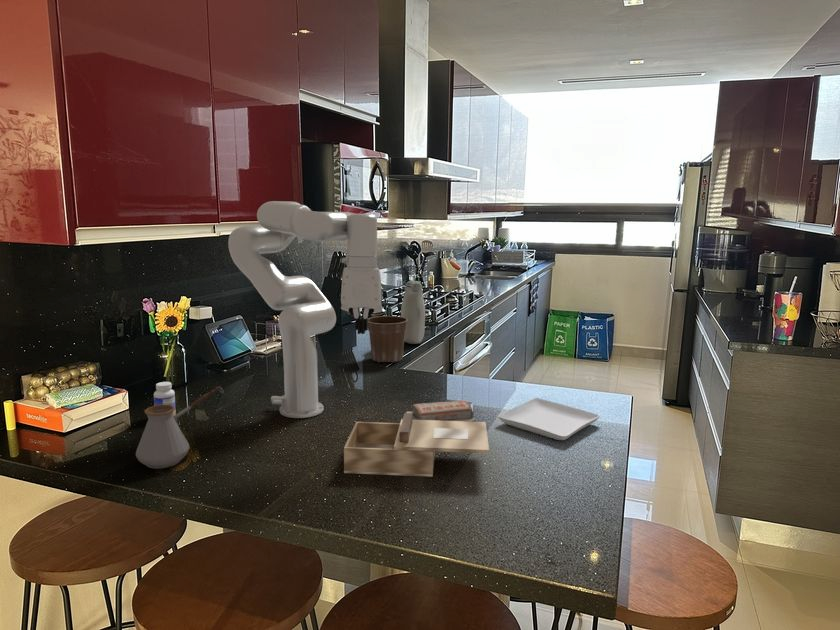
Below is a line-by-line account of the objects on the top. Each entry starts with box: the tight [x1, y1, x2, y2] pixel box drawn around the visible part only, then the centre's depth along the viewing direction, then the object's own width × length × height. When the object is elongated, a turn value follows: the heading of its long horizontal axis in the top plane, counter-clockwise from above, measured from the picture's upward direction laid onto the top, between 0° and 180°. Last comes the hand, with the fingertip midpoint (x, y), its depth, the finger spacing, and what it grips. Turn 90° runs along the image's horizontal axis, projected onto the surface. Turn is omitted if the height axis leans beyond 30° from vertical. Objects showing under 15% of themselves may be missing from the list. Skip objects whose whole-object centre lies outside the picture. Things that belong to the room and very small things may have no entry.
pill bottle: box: [153, 381, 177, 416], centre depth 161 cm, size 5×5×10 cm
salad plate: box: [497, 397, 601, 441], centre depth 159 cm, size 21×21×3 cm
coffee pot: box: [135, 386, 225, 469], centre depth 136 cm, size 21×12×15 cm, turn 137°
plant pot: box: [367, 315, 408, 363], centre depth 224 cm, size 16×16×16 cm
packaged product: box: [405, 400, 477, 422], centre depth 162 cm, size 18×5×10 cm
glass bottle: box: [400, 280, 426, 345], centre depth 249 cm, size 10×10×28 cm
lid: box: [394, 412, 490, 454], centre depth 134 cm, size 21×17×3 cm
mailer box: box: [343, 421, 436, 477], centre depth 136 cm, size 20×16×6 cm
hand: (361, 332), depth 149 cm, fingers closed
